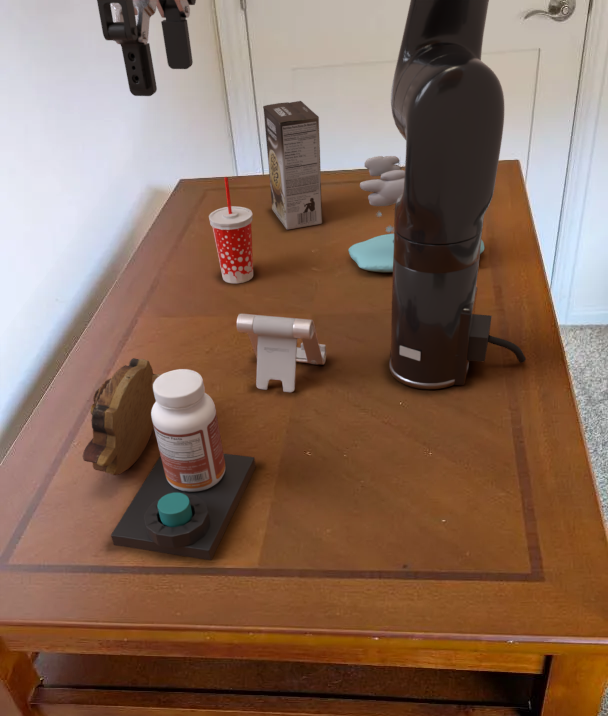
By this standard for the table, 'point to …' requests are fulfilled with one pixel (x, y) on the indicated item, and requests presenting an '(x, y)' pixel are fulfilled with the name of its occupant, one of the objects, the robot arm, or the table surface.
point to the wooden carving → (122, 418)
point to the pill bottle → (187, 431)
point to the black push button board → (207, 508)
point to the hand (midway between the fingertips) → (163, 80)
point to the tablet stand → (281, 347)
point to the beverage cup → (233, 240)
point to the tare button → (174, 509)
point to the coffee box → (294, 163)
